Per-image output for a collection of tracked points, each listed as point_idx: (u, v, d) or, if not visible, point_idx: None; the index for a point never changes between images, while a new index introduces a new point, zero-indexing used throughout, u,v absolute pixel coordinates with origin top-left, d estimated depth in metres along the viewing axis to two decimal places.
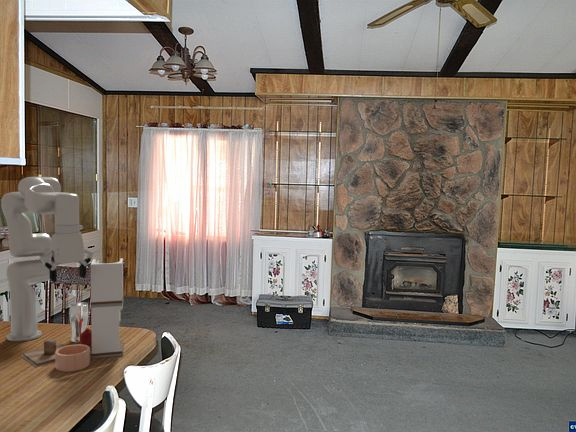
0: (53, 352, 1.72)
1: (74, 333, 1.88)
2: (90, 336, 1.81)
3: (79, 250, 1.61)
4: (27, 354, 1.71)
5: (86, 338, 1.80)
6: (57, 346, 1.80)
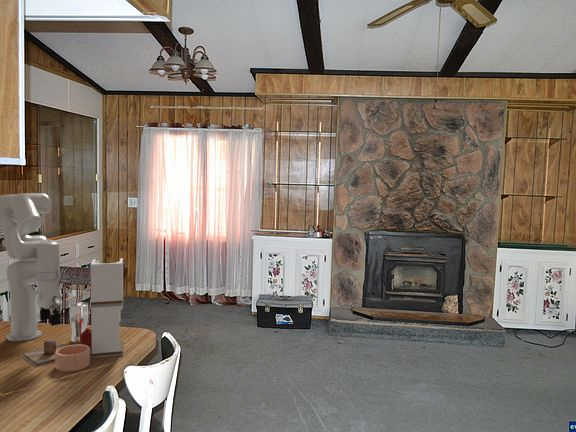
0: (53, 352, 1.72)
1: (74, 333, 1.88)
2: (90, 336, 1.81)
3: None
4: (27, 354, 1.71)
5: (86, 338, 1.80)
6: (57, 346, 1.80)
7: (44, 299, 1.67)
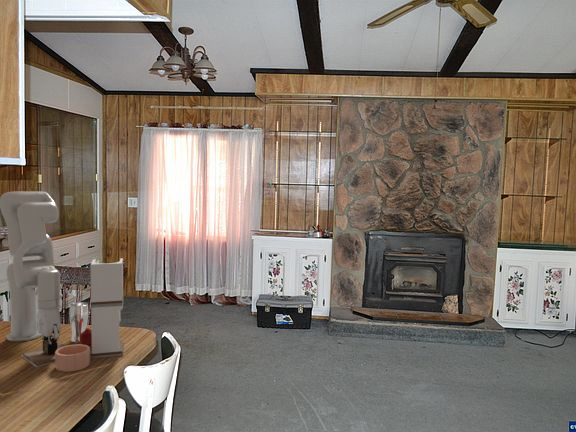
0: None
1: (74, 333, 1.88)
2: (90, 336, 1.81)
3: None
4: (27, 354, 1.71)
5: (86, 338, 1.80)
6: (57, 346, 1.80)
7: (44, 327, 1.68)
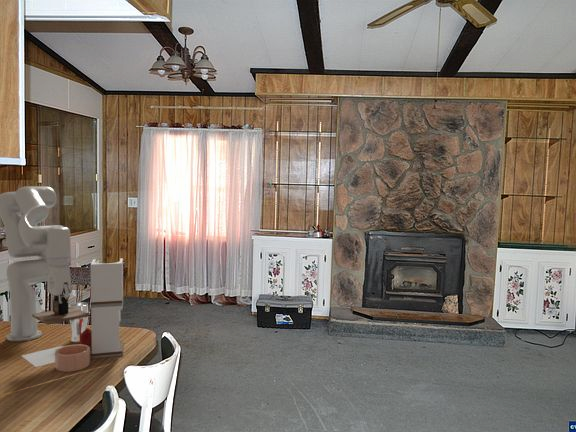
0: None
1: (74, 333, 1.88)
2: (90, 336, 1.81)
3: None
4: (37, 315, 1.65)
5: (86, 338, 1.80)
6: None
7: (55, 285, 1.62)
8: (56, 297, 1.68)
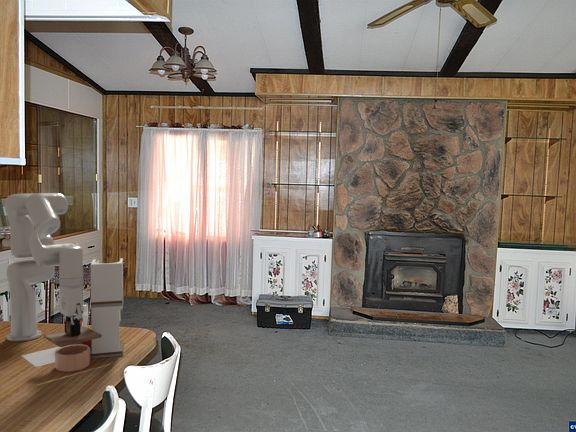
0: None
1: None
2: None
3: None
4: (49, 336, 1.61)
5: None
6: None
7: (67, 306, 1.58)
8: (68, 317, 1.65)
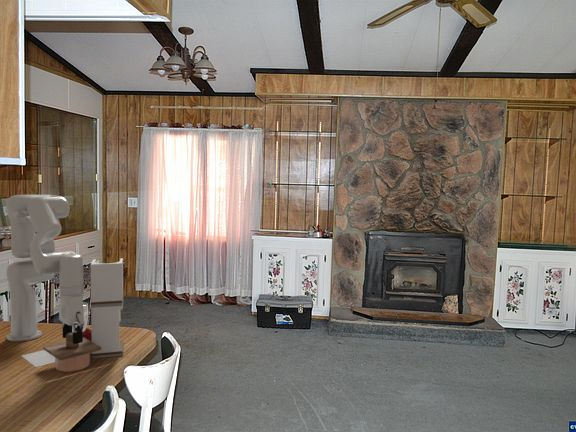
0: (76, 346, 1.63)
1: None
2: (90, 336, 1.81)
3: None
4: (49, 348, 1.62)
5: (86, 338, 1.80)
6: None
7: (67, 315, 1.59)
8: None
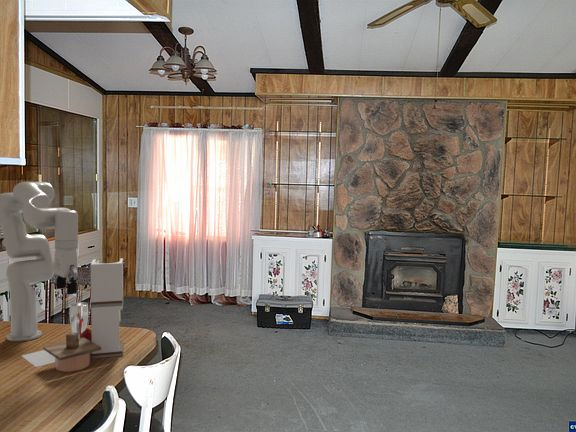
0: (76, 346, 1.63)
1: None
2: (90, 336, 1.81)
3: None
4: (49, 348, 1.62)
5: (86, 338, 1.80)
6: (79, 340, 1.71)
7: (61, 267, 1.65)
8: None
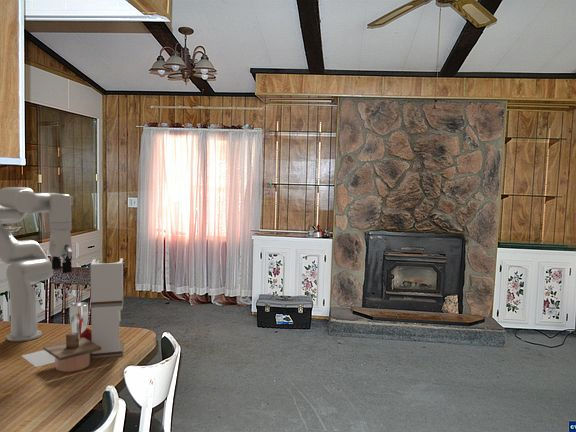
0: (76, 346, 1.63)
1: None
2: (90, 336, 1.81)
3: None
4: (49, 348, 1.62)
5: (86, 338, 1.80)
6: (79, 340, 1.71)
7: (56, 247, 1.75)
8: (55, 256, 1.83)
